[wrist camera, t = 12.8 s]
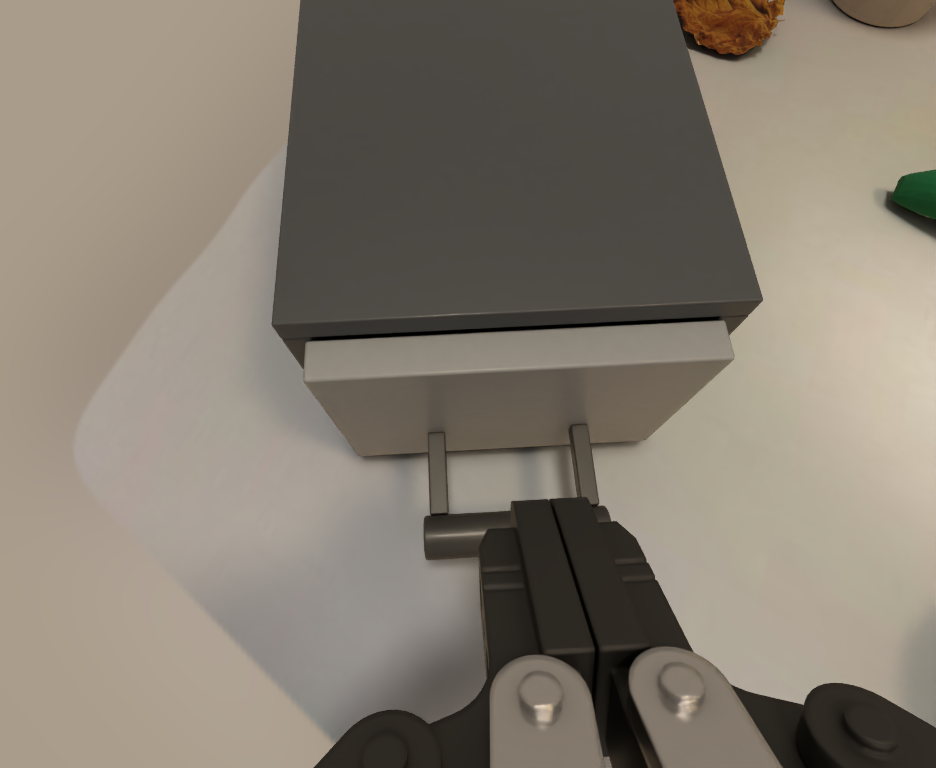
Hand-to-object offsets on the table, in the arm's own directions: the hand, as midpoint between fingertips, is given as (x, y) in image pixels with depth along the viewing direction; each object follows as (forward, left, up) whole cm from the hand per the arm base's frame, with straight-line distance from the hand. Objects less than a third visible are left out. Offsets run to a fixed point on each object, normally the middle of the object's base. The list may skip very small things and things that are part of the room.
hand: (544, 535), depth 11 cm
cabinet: (+4, +12, -10) cm, 16 cm away
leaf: (+24, +23, -11) cm, 35 cm away
